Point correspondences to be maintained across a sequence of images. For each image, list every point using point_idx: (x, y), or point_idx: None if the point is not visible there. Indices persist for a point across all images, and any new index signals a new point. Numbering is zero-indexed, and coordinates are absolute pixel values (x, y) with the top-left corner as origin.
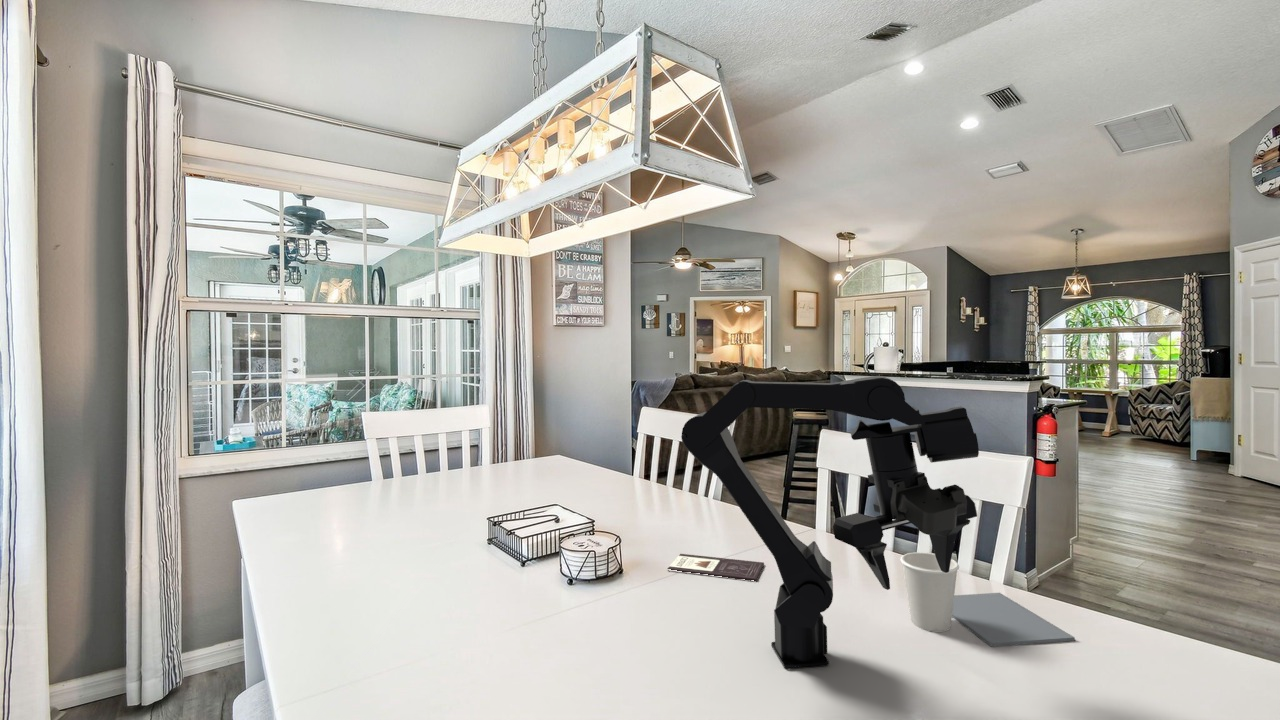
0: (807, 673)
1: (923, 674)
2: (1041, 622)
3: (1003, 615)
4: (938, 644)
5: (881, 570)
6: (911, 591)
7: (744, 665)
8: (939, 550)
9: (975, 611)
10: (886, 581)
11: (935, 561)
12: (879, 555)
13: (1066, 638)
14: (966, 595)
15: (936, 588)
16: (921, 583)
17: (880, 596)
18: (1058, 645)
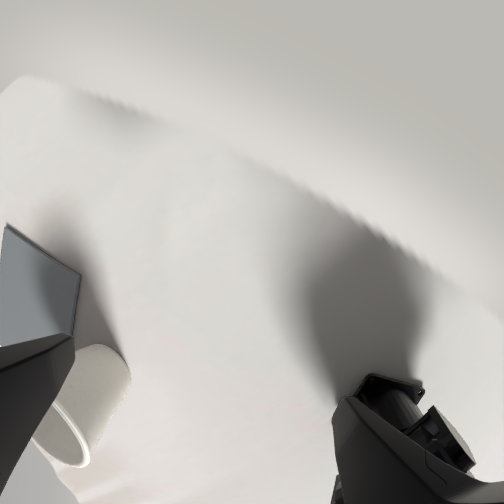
0: (409, 368)
1: (248, 280)
2: (4, 272)
3: (21, 311)
4: (142, 328)
5: (416, 444)
6: (108, 416)
7: (448, 409)
8: (25, 402)
9: None
10: (372, 414)
11: None
12: (459, 490)
13: (10, 230)
14: None
15: (73, 383)
16: (89, 410)
17: (120, 446)
18: (23, 229)
